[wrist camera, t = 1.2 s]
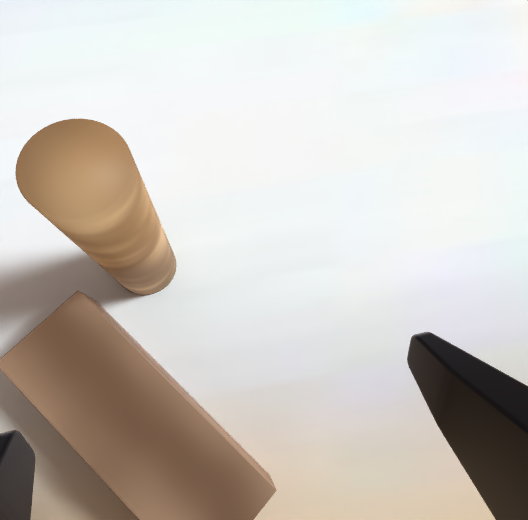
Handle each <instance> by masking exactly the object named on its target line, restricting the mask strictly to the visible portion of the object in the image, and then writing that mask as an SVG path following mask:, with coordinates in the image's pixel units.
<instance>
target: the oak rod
mask: <svg viewBox="0 0 528 520" xmlns="http://www.w3.org/2000/svg"><path fill="white" fill-rule="evenodd" d="M16 180H17V184H18V187H19V190H20V192H21V193H22V195H23V197H24V198H25V199H26V200H27V201H28V202H29V203H30V204H31V205H32V206H33V207H34V208H35V209H36V210H38V211H39V212H40V213H41V214H42V215H43V216H44V217H46V218H47V219H48V220H49V221H50V222H51V223H52V224H53V225H55V226H56V227H57V228H58V229H59V230H60V231H61V232H63V233H64V234H65V235H66V236H67V237H68V238H69V239H70V240H72V241H73V242H74V243H75V244H76V245H77V246H78V247H80V248H81V249H82V250H83V251H84V252H85V253H86V254H87V255H89V256H90V257H91V258H92V259H93V260H94V261H95V262H97V263H98V264H99V265H100V266H101V267H102V268H103V269H105V270H106V271H107V272H108V273H109V274H110V275H111V276H112V277H114V278H115V279H116V280H117V281H118V282H119V283H120V284H122V285H123V286H124V287H125V288H126V289H127V290H129V291H131V292H133V293H136V294H140V295H149V294H154V293H157V292H159V291H161V290H162V289H164V288H165V287H166V286H167V285H168V284H169V283H170V282H171V280H172V279H173V277H174V274H175V271H176V259H175V256H174V253H173V251H172V249H171V246H170V244H169V242H168V239H167V237H166V234H165V232H164V230H163V227H162V225H161V223H160V220H159V218H158V216H157V213H156V211H155V209H154V206H153V204H152V201H151V199H150V197H149V194H148V192H147V190H146V187H145V185H144V183H143V180H142V178H141V176H140V173H139V171H138V168H137V166H136V164H135V161H134V159H133V157H132V154H131V152H130V150H129V147H128V145H127V144H126V142H125V141H124V139H123V138H122V137H121V136H120V135H119V134H118V133H117V132H116V131H115V130H114V129H112V128H110V127H109V126H107V125H105V124H103V123H100V122H97V121H93V120H88V119H69V120H63V121H59V122H56V123H54V124H51V125H49V126H47V127H45V128H43V129H42V130H40V131H38V132H37V133H36V134H35V135H34V136H32V137H31V138H30V139H29V140H28V142H27V143H26V144H25V146H24V147H23V149H22V150H21V152H20V154H19V157H18V160H17V164H16Z"/></svg>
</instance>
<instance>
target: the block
mask: <svg viewBox="0 0 528 520" xmlns="http://www.w3.org/2000/svg"><path fill="white" fill-rule="evenodd" d="M0 369H1V370H2V371H3V372H4V374H5V375H6V376H7V377H8V378H9V379H10V380H11V381H12V382H13V383H14V384H15V385H16V387H17V388H18V389H19V390H20V391H21V392H22V393H23V394H24V395H25V396H26V397H27V399H28V400H29V401H30V402H31V403H32V404H33V405H34V406H35V407H36V408H37V409H38V410H39V412H40V413H41V414H42V415H43V416H44V417H45V418H46V419H47V420H48V421H49V422H50V423H51V425H52V426H53V427H54V428H55V429H56V430H57V431H58V432H59V433H60V434H61V435H62V436H63V438H64V439H65V440H66V441H67V442H68V443H69V444H70V445H71V446H72V447H73V448H74V449H75V451H76V452H77V453H78V454H79V455H80V456H81V457H82V458H83V459H84V460H85V461H86V462H87V464H88V465H89V466H90V467H91V468H92V469H93V470H94V471H95V472H96V473H97V474H98V476H99V477H100V478H101V479H102V480H103V481H104V482H105V483H106V484H107V485H108V486H109V487H110V489H111V490H112V491H113V492H114V493H115V494H116V495H117V496H118V497H119V498H120V499H121V500H122V502H123V503H124V504H125V505H126V506H127V507H128V508H129V509H130V510H131V511H132V512H133V513H134V515H135V516H136V517H137V518H138V519H139V520H254V518H255V517H256V516H257V514H258V513H259V512H260V511H261V509H262V508H263V507H264V506H265V504H266V503H267V502H268V500H269V499H270V498H271V497H272V495H273V494H274V493H275V491H276V488H275V486H274V484H273V482H272V479H271V477H270V475H269V474H268V473H267V472H266V471H265V470H264V469H263V468H262V467H261V466H260V465H259V464H258V463H257V462H256V461H255V460H254V459H253V458H252V457H251V456H250V455H249V454H248V453H247V452H246V451H245V450H244V449H243V448H242V447H241V446H240V445H239V444H238V443H237V442H236V441H235V440H234V439H233V438H232V437H231V436H230V435H229V434H228V433H227V432H226V431H225V430H224V429H223V428H222V427H221V426H220V425H219V424H218V423H217V422H216V421H215V420H214V419H213V418H212V417H211V416H210V415H209V414H208V413H207V412H206V411H205V410H204V409H203V408H202V407H201V406H200V405H199V404H198V403H197V402H196V401H195V400H194V399H193V398H192V397H191V396H190V395H189V394H188V393H187V392H186V391H185V390H184V389H183V388H182V387H181V386H180V385H179V384H178V383H177V382H176V381H175V380H174V379H173V378H172V377H171V376H170V375H169V374H168V373H167V372H166V371H165V370H164V369H163V368H162V367H161V366H160V365H159V364H158V363H157V362H156V361H155V360H154V359H153V358H152V357H151V356H150V355H149V354H148V353H147V352H146V351H145V350H144V349H143V348H142V347H141V346H140V345H139V344H138V343H137V342H136V341H135V340H134V339H133V338H132V337H131V336H130V335H129V334H128V333H127V332H126V331H125V330H124V329H123V328H122V327H121V326H120V325H119V324H118V323H117V322H116V321H115V320H114V319H113V318H112V317H111V316H110V315H109V314H108V313H107V312H106V311H105V310H104V309H103V308H102V307H101V306H100V305H99V304H98V303H97V302H96V301H95V300H93V299H91V298H90V297H88V296H86V295H85V294H83V293H81V292H79V291H77V292H76V293H75V294H74V295H72V296H71V297H70V298H69V299H68V300H67V301H66V302H65V303H63V304H62V305H61V306H60V307H59V308H58V309H57V310H55V311H54V312H53V313H52V314H51V315H50V316H49V317H48V318H46V319H45V320H44V321H43V322H42V323H41V324H40V325H39V326H37V327H36V328H35V329H34V330H33V331H32V332H31V333H30V334H28V335H27V336H26V337H25V338H24V339H23V340H22V341H20V342H19V343H18V344H17V345H16V346H15V347H14V348H13V349H11V350H10V351H9V352H8V353H7V354H6V355H5V356H4V357H2V358H1V359H0Z"/></svg>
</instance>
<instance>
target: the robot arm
mask: <svg viewBox="0 0 528 520" xmlns="http://www.w3.org/2000/svg"><path fill="white" fill-rule="evenodd" d="M407 360H408V365H409V368H410V370H411V372H412V374H413V376H414V378H415V380H416V382H417V384H418V386H419V388H420V391H421V393H422V395H423V397H424V399H425V401H426V403H427V405H428V407H429V409H430V411H431V413H432V415H433V417H434V419H435V421H436V423H437V425H438V427H439V428H440V430H441V432H442V433H443V435H444V437H445V438H446V440H447V441H448V443H449V445H450V446H451V448H452V450H453V451H454V453H455V454H456V456H457V458H458V459H459V461H460V463H461V464H462V466H463V467H464V469H465V471H466V472H467V474H468V475H469V477H470V479H471V480H472V482H473V484H474V485H475V487H476V488H477V490H478V492H479V493H480V495H481V497H482V498H483V500H484V501H485V503H486V505H487V506H488V508H489V509H490V511H491V513H492V514H493V516H494V518H495V519H496V520H528V386H527V385H525V384H523V383H521V382H519V381H518V380H516V379H514V378H512V377H510V376H509V375H507V374H505V373H503V372H501V371H499V370H498V369H496V368H494V367H492V366H490V365H489V364H487V363H485V362H483V361H481V360H480V359H478V358H476V357H474V356H472V355H471V354H469V353H467V352H465V351H463V350H461V349H460V348H458V347H456V346H454V345H452V344H451V343H449V342H447V341H445V340H443V339H442V338H440V337H438V336H436V335H434V334H432V333H430V332H424V333H419V334H415V335H413V336H412V338H411V341H410V346H409V352H408V357H407ZM34 471H35V454H34V451H33V449H32V448H31V447H30V445H29V444H28V443H27V441H26V440H25V438H24V437H23V436H22V434H21V433H20V432H19V431H16V430H13V431H9V432H5V433H0V520H30V516H31V505H32V493H33V482H34Z"/></svg>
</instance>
